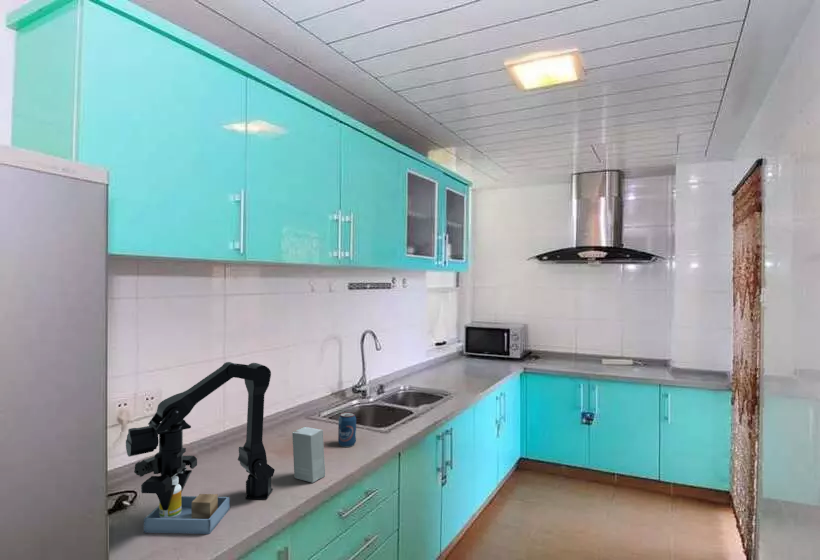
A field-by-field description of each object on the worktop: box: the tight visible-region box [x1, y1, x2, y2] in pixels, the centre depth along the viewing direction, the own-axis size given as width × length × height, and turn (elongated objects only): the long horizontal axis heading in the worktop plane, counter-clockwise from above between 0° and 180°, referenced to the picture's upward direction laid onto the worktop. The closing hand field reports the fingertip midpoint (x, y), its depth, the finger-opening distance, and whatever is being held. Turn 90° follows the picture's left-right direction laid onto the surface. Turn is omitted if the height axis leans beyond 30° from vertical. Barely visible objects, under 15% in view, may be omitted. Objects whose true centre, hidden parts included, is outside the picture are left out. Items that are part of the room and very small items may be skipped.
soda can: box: [337, 411, 357, 448], centre depth 193 cm, size 7×7×12 cm
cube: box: [192, 493, 219, 519], centre depth 134 cm, size 5×5×5 cm
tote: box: [143, 495, 231, 535], centre depth 133 cm, size 17×13×4 cm
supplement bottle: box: [158, 476, 182, 518], centre depth 132 cm, size 5×5×10 cm
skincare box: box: [291, 426, 326, 484], centre depth 161 cm, size 8×7×16 cm
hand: (170, 504), depth 132 cm, fingers closed on supplement bottle, 5 cm apart
